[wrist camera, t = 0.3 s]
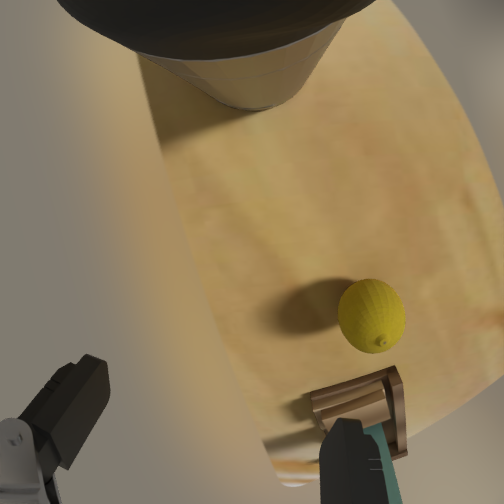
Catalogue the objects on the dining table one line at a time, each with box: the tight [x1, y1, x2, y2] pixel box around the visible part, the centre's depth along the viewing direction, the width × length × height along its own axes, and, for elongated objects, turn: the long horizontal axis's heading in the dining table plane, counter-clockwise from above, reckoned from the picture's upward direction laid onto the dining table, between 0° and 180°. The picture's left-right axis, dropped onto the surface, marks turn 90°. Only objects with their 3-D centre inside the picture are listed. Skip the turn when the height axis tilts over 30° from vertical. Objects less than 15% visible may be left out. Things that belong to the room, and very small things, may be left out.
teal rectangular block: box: [363, 422, 402, 504], centre depth 27 cm, size 3×6×14 cm, turn 111°
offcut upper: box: [321, 389, 391, 432], centre depth 30 cm, size 4×7×2 cm, turn 115°
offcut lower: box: [312, 380, 386, 430], centre depth 31 cm, size 4×8×2 cm, turn 111°
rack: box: [310, 365, 408, 461], centre depth 33 cm, size 16×10×4 cm, turn 21°
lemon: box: [338, 279, 405, 354], centre depth 25 cm, size 6×6×8 cm
